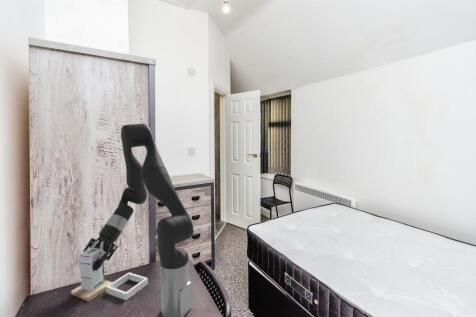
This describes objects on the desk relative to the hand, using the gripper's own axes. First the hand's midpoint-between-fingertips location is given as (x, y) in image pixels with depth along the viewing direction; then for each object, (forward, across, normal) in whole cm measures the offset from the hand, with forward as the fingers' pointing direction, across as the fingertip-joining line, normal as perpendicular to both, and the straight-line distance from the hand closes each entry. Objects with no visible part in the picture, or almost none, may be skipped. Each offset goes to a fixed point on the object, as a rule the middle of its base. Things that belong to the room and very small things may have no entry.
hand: (87, 267), depth 87 cm
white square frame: (+2, +12, +12) cm, 17 cm away
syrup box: (+5, 0, +8) cm, 9 cm away
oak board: (+6, 0, +8) cm, 10 cm away
